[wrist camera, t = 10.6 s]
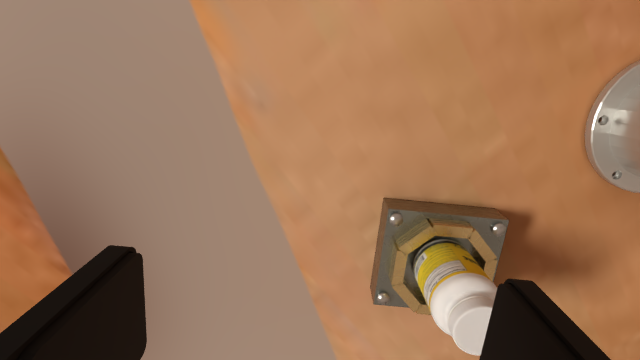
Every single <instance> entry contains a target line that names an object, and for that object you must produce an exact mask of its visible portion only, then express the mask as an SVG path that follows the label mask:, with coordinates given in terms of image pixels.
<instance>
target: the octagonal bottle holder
mask: <svg viewBox="0 0 640 360" xmlns="http://www.w3.org/2000/svg"><path fill="white" fill-rule="evenodd" d="M508 223H509V220H508V219H507V218H506V217H505V216H503V215H502V214H501V213H500V212H498V211H497V210H496V209H494V208H484V207H473V206H463V205H452V204H442V203H431V202H421V201H411V200H400V199H390V198H383V205H382V212H381V218H380V225H379V232H378V238H377V245H376V252H375V258H374V265H373V271H372V278H371V285H370V289H371V294H372V299H373V304H376V305H386V306H397V307H408V308H411V310H412V311H413V312H415V311H416V313H417V314H426V315H432V314H431V312H430V310H429V307H428V305H427V303H426V301H425V298H424V296H423V294H422V292H421V290H420V287H419V285H418V283H417V281H416V278H415V276H414V273H413V261H414V258H415V256H416V254H417V252H418V251H419V250H420V249H421V248H422V247H423V246H424V245H426V244H427V243H429V242H432V241H435V240H439V239H448V240H453V241H455V242H457V243H459V244H461V245H462V246H463V247H464V248H465V249H466V250H467V251H468V252H469V253H470V255H471V256H472V257H473V258H474V260H475V261H476V262H477V263H478V264H479V266H480V267H481V268H482V269H483V271H484V272H485V273H486V275H487V276H488V277H489V278H490V279H491V281H492V282H494V278H495V274H496V270H497V266H498V262H499V258H500V254H501V250H502V246H503V242H504V238H505V234H506V231H507V226H508Z"/></svg>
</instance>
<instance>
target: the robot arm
mask: <svg viewBox="0 0 640 360" xmlns="http://www.w3.org/2000/svg"><path fill="white" fill-rule="evenodd" d="M585 147H586V151H587V155H588V159H589V161H590V162H591V164H592V166H593V168H594V169H595V171H596V172H597V173H598V174H599V175H600V176H601V177H602V178H603V179H605V180H606V181H607V182H609V183H610V184H612V185H614V186H617V187H619V188H621V189H624V190H627V191H631V192H634V193H640V60H639V61H637V62H635V63H633V64H631V65H629V66H628V67H626V68H625V69H624V70H622V71H621V72H619V73H618V74H617V75H616V76H615V77H614V78H613V79H612V80H611V81H610V82H609V83H608V84H607V85H606V86H605V87H604V89H603V90H602V91H601V93H600V94H599V95H598V97H597V99H596V101H595V102H594V104H593V106H592V108H591V111H590V114H589V116H588V119H587V123H586V130H585ZM146 342H147V338H146V318H145V297H144V278H143V259H142V255H141V254H140V253H136V250H135V248H133V247H124V246H113V245H110V246H108V247H106V248H105V249H104V250H103V251H101V252H100V253H99V254H98V255H97V256H95V257H94V258H93V259H92V260H90V261H89V262H88V263H87V264H86V265H84V266H83V267H82V268H81V269H79V270H78V271H77V272H75V273H74V274H73V275H72V276H71V277H69V278H68V279H67V280H66V281H64V282H63V283H62V284H61V285H59V286H58V287H57V288H56V289H54V290H53V291H52V292H51V293H49V294H48V295H47V296H46V297H45V298H43V299H42V300H41V301H40V302H38V303H37V304H36V305H35V306H33V307H32V308H31V309H30V310H28V311H27V312H26V313H25V314H24V315H22V316H21V317H20V318H19V319H17V320H16V321H15V322H14V323H12V324H11V325H10V326H9V327H7V328H6V329H5V330H4V331H3V332H1V333H0V360H140V359H141V357H142V356H143V354H144V351H145V348H146ZM480 360H611V359H610V358H609V357H608V356H607V355H606V354H605V353H604V352H603V351H602V350H601V349H600V348H599V347H598V346H597V345H596V344H595V343H594V342H593V341H592V340H591V339H590V338H589V337H588V336H587V335H586V334H585V333H584V332H583V331H582V330H581V329H580V328H579V327H578V326H577V325H576V324H575V323H574V322H573V321H572V320H571V319H570V318H569V317H568V316H567V315H566V314H565V313H564V312H563V311H562V310H561V309H560V308H559V307H558V306H557V305H556V304H555V303H554V302H553V301H552V300H551V299H550V298H549V297H548V296H547V295H546V294H545V293H544V292H543V291H542V290H541V289H540V288H539V287H538V286H537V285H536V284H535V283H534V282H533V281H529V280H517V279H507V280H506V281H505V282H504V284H500V285H499V286H498V288H497V292H496V296H495V300H494V304H493V308H492V312H491V316H490V320H489V324H488V328H487V332H486V336H485V340H484V344H483V348H482V352H481V356H480Z"/></svg>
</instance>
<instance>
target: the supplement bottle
mask: <svg viewBox="0 0 640 360" xmlns="http://www.w3.org/2000/svg"><path fill="white" fill-rule="evenodd" d="M413 273H414V276H415V278H416V281H417V283H418V285H419V287H420V290H421V292H422V294H423V296H424V298H425V301H426V303H427V305H428V307H429V310H430V312H431V314H432V316H433V319H434V321H435V322H436V324H437V325H438V326H439V328H440V329H441V330H442V331H444V332H445V333H447V334H449V335H451V336H452V337H453V339H454V341H455V343H456V344H457V346H458V347H459V348H460V349H461V350H463V351H464V352H466V353H469V354H472V355H481V352H482V348H483V344H484V340H485V336H486V332H487V328H488V324H489V320H490V316H491V312H492V308H493V304H494V300H495V296H496V292H497V287H496V286H495V284H494V283H493V282H492V281H491V279H490V278H489V277H488V276H487V275H486V273H485V272H484V271H483V269H482V268H481V267H480V266H479V264H478V263H477V262H476V261H475V260H474V258H473V257H472V256H471V255H470V253H469V252H468V251H467V250H466V249H465V248H464V247H463V246H462V245H461V244H459V243H457V242H455V241H453V240H448V239H439V240H435V241H432V242H429V243H427V244H426V245H424V246H423V247H422V248H421V249H420V250H419V251H418V252H417V254H416V256H415V258H414V261H413Z"/></svg>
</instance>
